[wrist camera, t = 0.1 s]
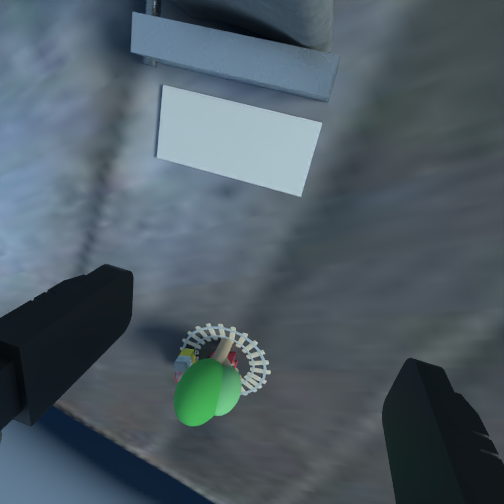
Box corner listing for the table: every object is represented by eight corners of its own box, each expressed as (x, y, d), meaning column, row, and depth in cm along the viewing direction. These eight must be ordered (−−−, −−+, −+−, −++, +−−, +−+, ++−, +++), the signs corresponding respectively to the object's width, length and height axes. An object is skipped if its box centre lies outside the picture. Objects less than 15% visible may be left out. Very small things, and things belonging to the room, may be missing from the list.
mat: (165, 85, 35) (163, 84, 35) (322, 122, 33) (322, 122, 32) (159, 157, 39) (156, 157, 38) (301, 195, 36) (300, 196, 36)
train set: (126, 451, 40) (135, 373, 34) (173, 375, 53) (186, 308, 47) (235, 497, 39) (264, 424, 33) (258, 408, 51) (282, 343, 45)
